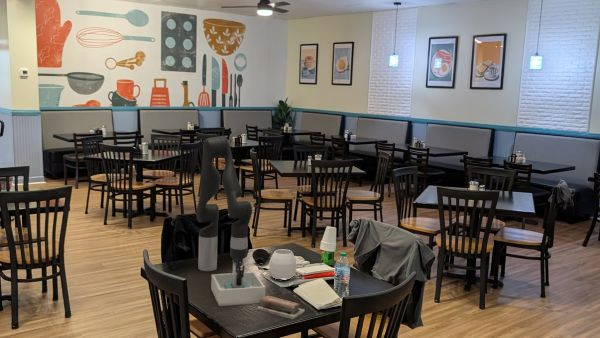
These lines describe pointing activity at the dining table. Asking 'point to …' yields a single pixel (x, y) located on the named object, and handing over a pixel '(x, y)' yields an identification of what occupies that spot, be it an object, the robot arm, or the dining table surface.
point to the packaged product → (280, 307)
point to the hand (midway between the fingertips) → (237, 283)
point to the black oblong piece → (261, 256)
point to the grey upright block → (235, 279)
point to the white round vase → (282, 264)
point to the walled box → (237, 289)
